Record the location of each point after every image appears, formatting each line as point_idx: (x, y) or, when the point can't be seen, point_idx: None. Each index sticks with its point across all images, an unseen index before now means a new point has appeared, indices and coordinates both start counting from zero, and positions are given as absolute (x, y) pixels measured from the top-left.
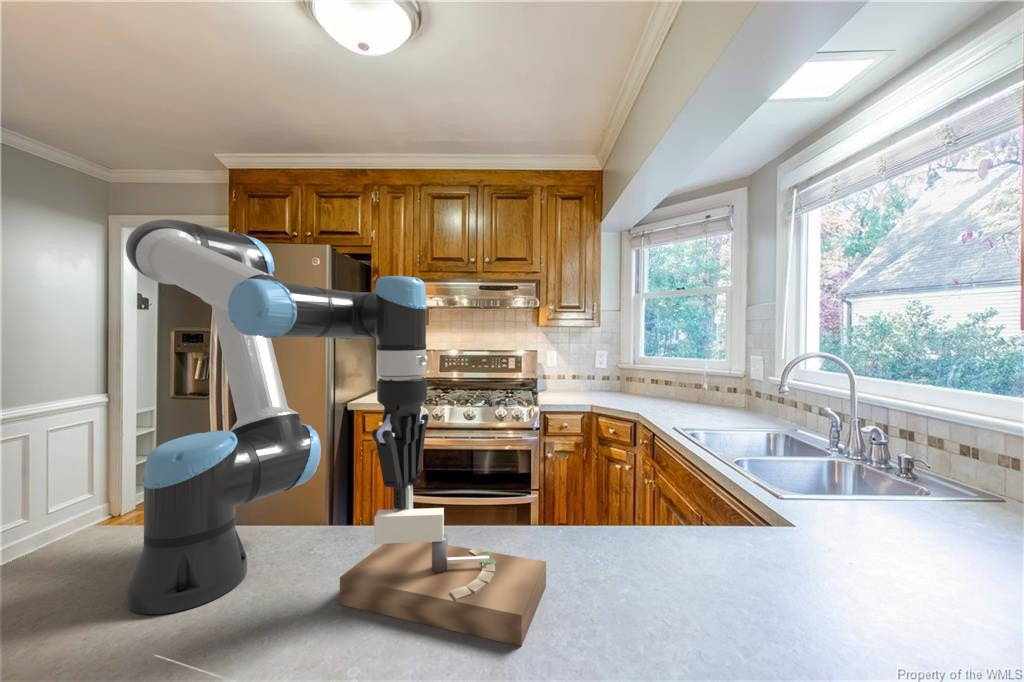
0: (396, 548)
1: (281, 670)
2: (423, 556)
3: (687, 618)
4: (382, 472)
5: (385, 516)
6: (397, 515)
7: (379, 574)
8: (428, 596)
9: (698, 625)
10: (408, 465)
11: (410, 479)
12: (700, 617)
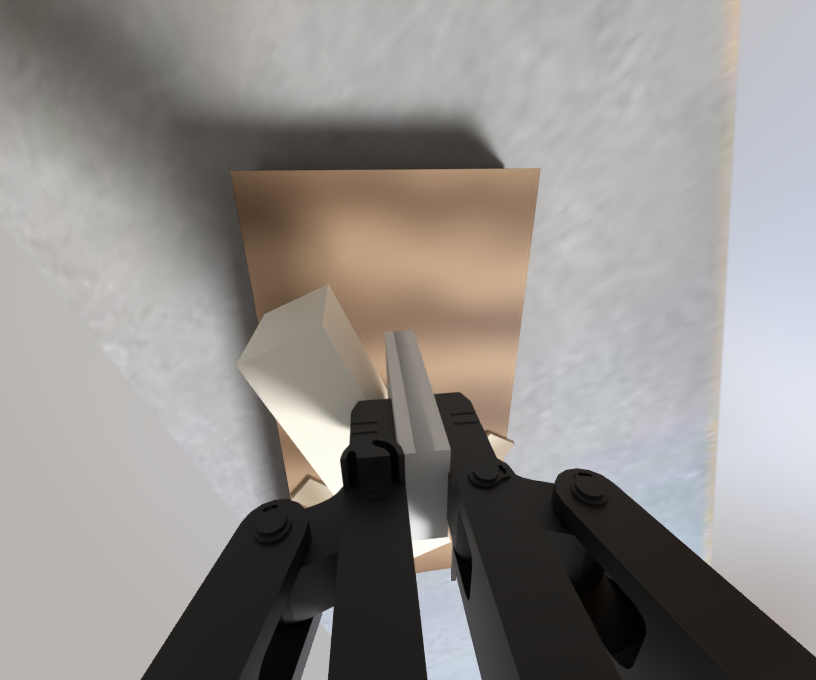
0: (458, 236)
1: (6, 214)
2: (437, 342)
3: (453, 652)
4: (150, 677)
5: (268, 408)
6: (305, 446)
7: (303, 285)
8: (281, 443)
9: (442, 660)
10: (488, 672)
11: (453, 560)
12: (459, 659)
